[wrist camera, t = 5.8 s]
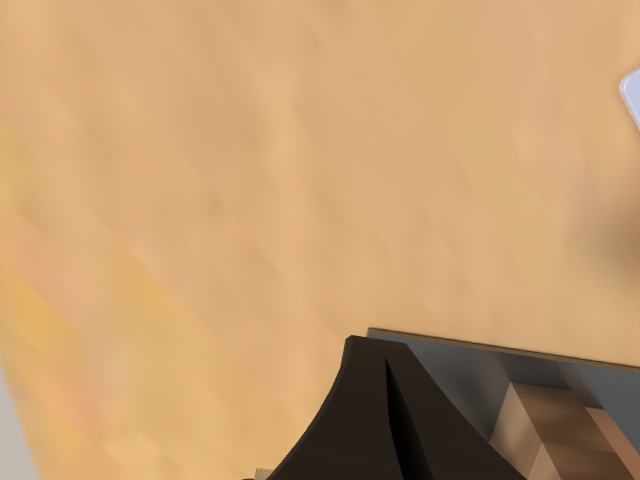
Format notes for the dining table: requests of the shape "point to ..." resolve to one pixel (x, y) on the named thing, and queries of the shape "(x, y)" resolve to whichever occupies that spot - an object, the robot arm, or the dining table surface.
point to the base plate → (521, 379)
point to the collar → (617, 440)
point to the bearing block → (553, 437)
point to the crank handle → (261, 474)
